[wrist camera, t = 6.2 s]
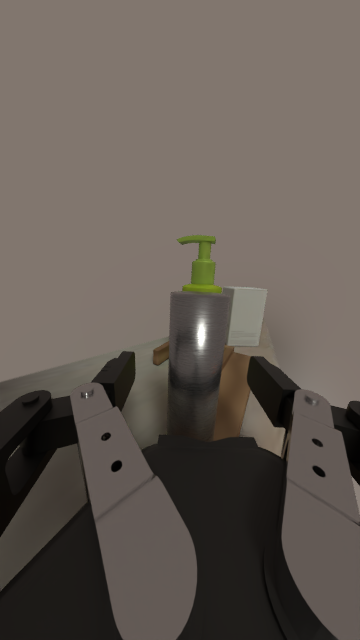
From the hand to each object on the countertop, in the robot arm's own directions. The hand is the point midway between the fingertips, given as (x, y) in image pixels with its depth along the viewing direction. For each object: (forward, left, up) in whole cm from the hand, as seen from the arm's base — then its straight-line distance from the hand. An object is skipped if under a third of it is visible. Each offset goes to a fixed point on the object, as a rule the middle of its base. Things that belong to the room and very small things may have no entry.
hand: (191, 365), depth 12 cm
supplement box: (-2, +30, -9) cm, 32 cm away
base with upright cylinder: (-4, +7, -8) cm, 12 cm away
